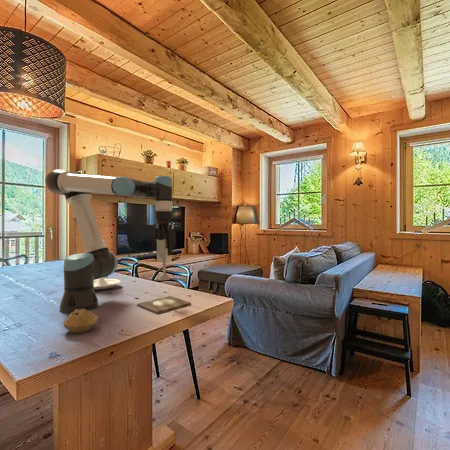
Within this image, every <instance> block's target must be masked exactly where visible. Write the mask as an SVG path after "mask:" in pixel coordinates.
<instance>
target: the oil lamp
mask: <svg viewBox="0 0 450 450" xmlns="http://www.w3.org/2000/svg"><path fill="white" fill-rule="evenodd" d="M98 321H99V317H98V315H96V314H94V313H93V312H92V311H91V310H85V309H76V310H75V311H74V312H72V313H69V315H68V316H67V318H66V319H65V320H64V321H63V327H64V328H65V329H66V330H68V331H70V332H71V333H77V334H80V333H85V332H87V331H90V330H91V329H92V327H94V326H95V325H96V324H97V323H98Z"/></svg>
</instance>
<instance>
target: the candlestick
mask: <svg viewBox="0 0 450 450" xmlns="http://www.w3.org/2000/svg"><path fill="white" fill-rule="evenodd" d="M102 241H103V244H104V245H105V246H106V243H105V241H106V239H102ZM121 282H122V281H121V280H120V279H116V278H105V277H104V278H99V279H96V280H94V291H95V290H97V291H98V290H107V289H111V288H113V287H116V286H117V285H118V284H120V283H121Z"/></svg>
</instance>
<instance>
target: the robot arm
mask: <svg viewBox="0 0 450 450" xmlns="http://www.w3.org/2000/svg"><path fill="white" fill-rule="evenodd" d="M44 181H45V185H46V188H47V189H48V190H49V191H50V192H51V193H53V194H56V195H61V196H64V197H65V201H66V202H67V203H68V204H70V205H71V208H72V212H73V214H74V218H75V221H76V224H77V225H76V226H77V227H78V230H79V235H80V236H81V237H80V238H81V240H82V243H83V246H84V252H83V253H82V252H81V253H75V254H71V255H68V256H66V257H65V258H64V261H63V285H64V286H63V288H64V289H63V295H62V297H61V300H60V303H59V311H60V312H62V313H64V314H65V313H66V314H71V313H72V312H74V311H75V310H76V309H85V310H88V311H91V310H94V309H96V308H98V306H99V299H98V297H97V294H96V291H95V289H94V280H96V279H99V278H104V279H105V278H106V277H109V276H111V275H112V274H114V273H115V272H116V270H117V267H118V258H117V255H115V254H114V253H113V252H110V249H109V247H108V246H107V245H106V244H105V245H104V244H103V241H102V240H103V238H102V235H101V232H100V228H99V225H98V223H97V219H96V216H95V212H94V210H93V206H92V203H91V199H92V197H93V196H92V194H103V195H116V196H121V197H132V198H133V199H151V198H152V199H155V201H154V202H155V203H154V204H155V205H154V207H155V208H154V209H155V215H154V216H155V220H157V221H156V222H157V223H154V224H153V246H155V247H156V248H157V241H156V239H158V240H163V239H165V240H166V246H167V247H165V248H166V260H165V263H166V264H171V263H172V262H173V261H172V258H173V257H172V256H173V248H174V247H176V233H175V232H176V224H172V222H171V220H173V211H172V210H173V179H172V177H170V176H168V175H157V176H155V179H154V180H151V181H143V180H140V179H139V180H138V179H134V178H130V177H127V176H118V177H117V176H106V175H93V174H92V175H91V174H84V173H81V172H74V171H70V170H65V169H53V170H51V171H50V172H49V171H48V173H47V174H46V176H45V179H44ZM156 259H157V260H156V261H157V263H160V262H163V260H162V259H161V258H160V256H159V254H158V252H157V251H156Z"/></svg>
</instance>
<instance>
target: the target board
mask: <svg viewBox="0 0 450 450" xmlns="http://www.w3.org/2000/svg"><path fill="white" fill-rule="evenodd" d="M191 305H192V302H191V301H187V300H184V299H181V298H177V297H174V296H171V295H169V296H165V297H159V298H156V299H151V300H147V301H144V302H139V303H137V304H136V306H137V307H139V308H141V309H143V310H147V311H148V312H151V313H153V314H155V315H159V314H162V313H166V312H170V311H174V310H176V309H179V308H184V307H187V306H191Z"/></svg>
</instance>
